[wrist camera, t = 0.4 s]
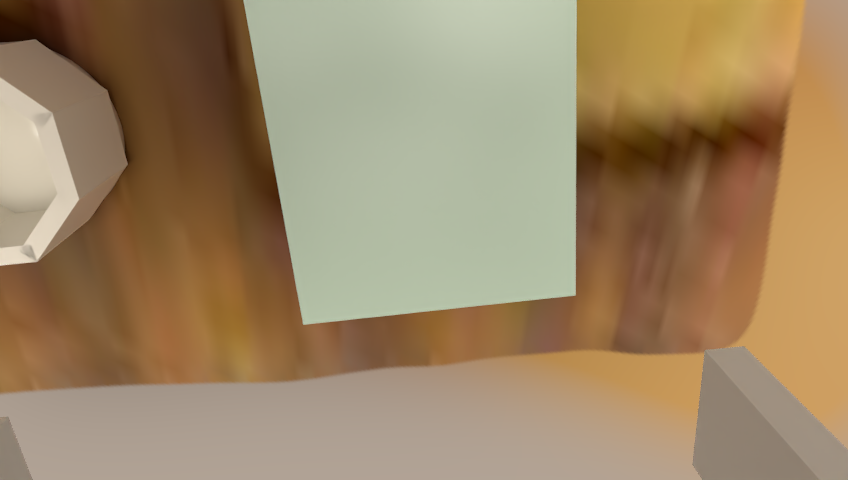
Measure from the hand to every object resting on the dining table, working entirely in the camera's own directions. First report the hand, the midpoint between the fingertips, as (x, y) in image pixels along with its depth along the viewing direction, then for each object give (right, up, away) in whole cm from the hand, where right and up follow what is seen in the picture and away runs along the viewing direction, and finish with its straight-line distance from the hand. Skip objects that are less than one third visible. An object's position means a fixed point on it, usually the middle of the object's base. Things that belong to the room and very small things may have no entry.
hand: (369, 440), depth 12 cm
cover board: (+1, +9, +14) cm, 17 cm away
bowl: (-18, +9, +19) cm, 28 cm away
